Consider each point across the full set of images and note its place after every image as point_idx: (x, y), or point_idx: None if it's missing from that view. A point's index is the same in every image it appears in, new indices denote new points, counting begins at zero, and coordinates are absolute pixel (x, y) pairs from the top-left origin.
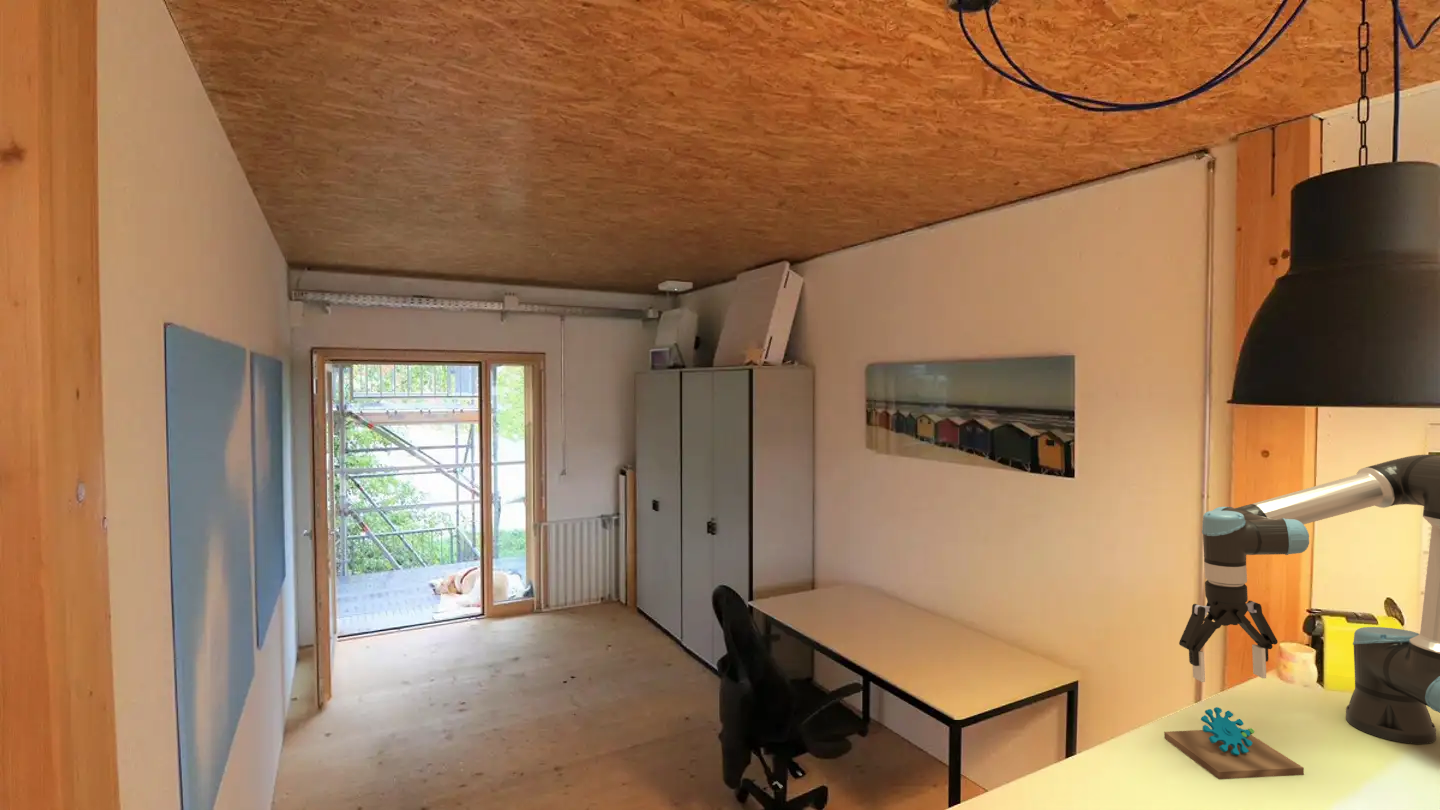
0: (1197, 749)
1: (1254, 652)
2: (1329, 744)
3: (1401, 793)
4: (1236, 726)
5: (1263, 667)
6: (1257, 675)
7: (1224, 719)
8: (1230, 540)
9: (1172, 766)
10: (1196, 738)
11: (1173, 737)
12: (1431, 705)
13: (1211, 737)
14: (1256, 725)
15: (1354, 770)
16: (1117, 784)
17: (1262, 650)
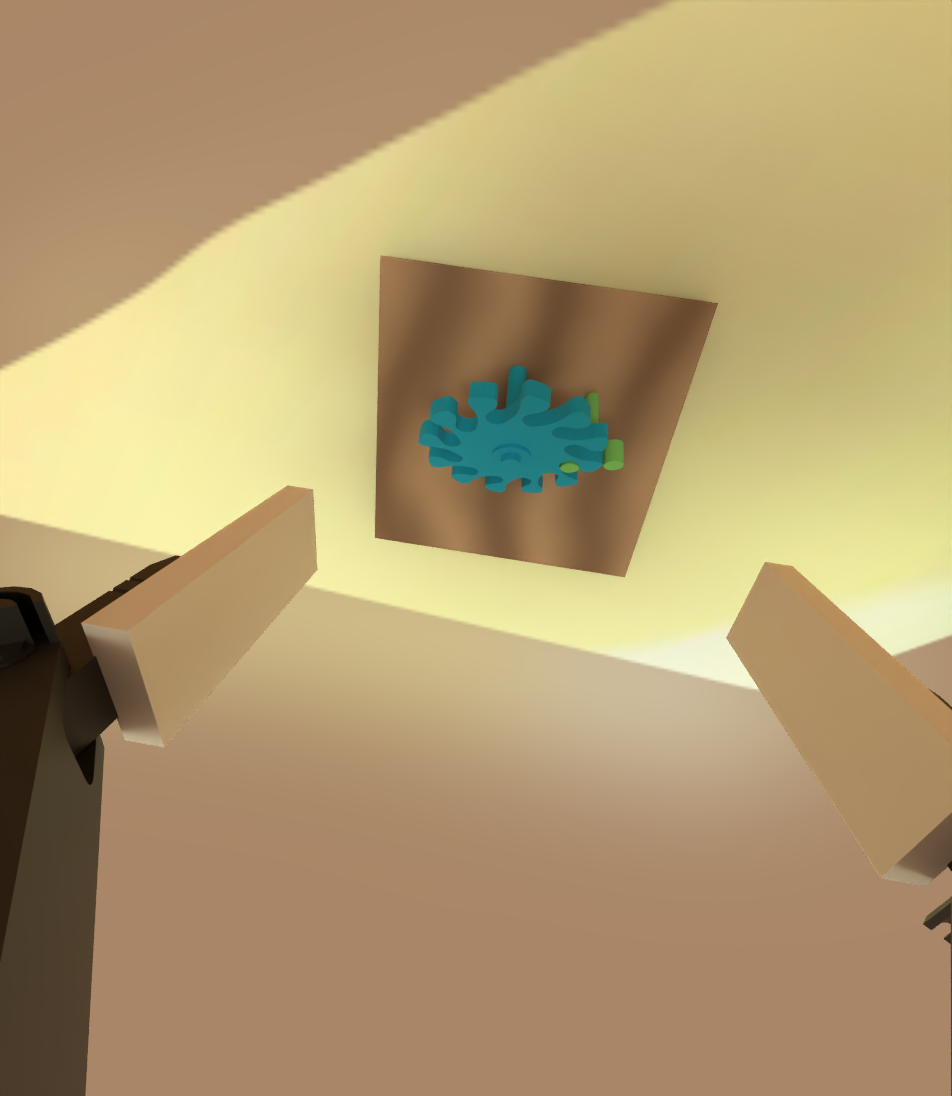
0: (408, 415)
1: (880, 722)
2: (923, 452)
3: None
4: (561, 451)
5: (773, 698)
6: (746, 598)
7: (530, 431)
8: None
9: (297, 444)
10: (465, 342)
11: (384, 313)
12: None
13: (430, 458)
14: (866, 241)
15: None
16: (104, 485)
17: (872, 859)
